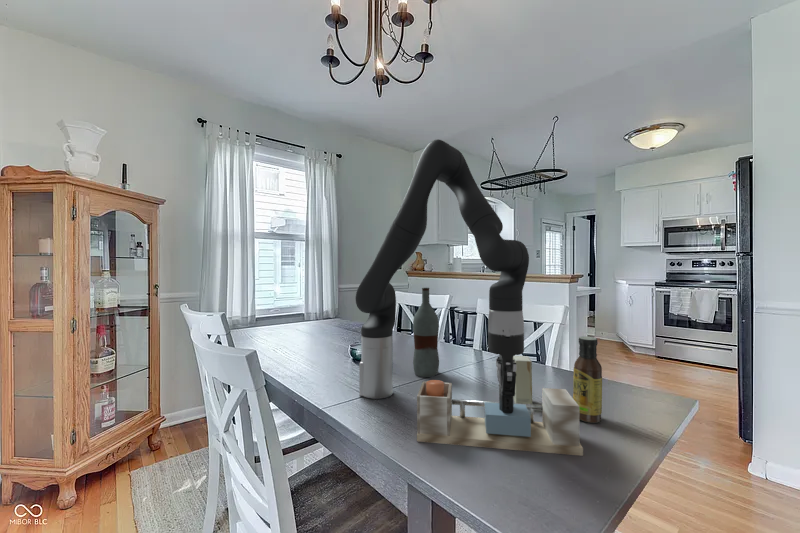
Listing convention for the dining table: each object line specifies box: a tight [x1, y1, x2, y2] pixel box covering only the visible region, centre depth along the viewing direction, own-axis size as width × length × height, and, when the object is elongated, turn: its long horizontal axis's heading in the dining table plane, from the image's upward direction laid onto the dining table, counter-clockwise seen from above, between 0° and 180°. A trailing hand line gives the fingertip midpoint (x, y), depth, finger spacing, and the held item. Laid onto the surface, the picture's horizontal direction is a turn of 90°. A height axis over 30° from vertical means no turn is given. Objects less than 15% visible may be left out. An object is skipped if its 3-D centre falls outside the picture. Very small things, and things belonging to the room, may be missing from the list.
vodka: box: [412, 287, 440, 378], centre depth 124 cm, size 9×9×30 cm
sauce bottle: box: [572, 335, 603, 424], centre depth 87 cm, size 6×6×20 cm
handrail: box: [452, 398, 543, 423], centre depth 83 cm, size 20×1×4 cm, turn 79°
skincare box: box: [513, 355, 533, 404], centre depth 97 cm, size 6×4×12 cm
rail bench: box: [416, 381, 584, 457], centre depth 79 cm, size 33×11×10 cm, turn 79°
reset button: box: [425, 379, 445, 397], centre depth 81 cm, size 4×4×4 cm
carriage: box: [484, 382, 531, 437], centre depth 78 cm, size 9×7×10 cm
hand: (506, 408), depth 78 cm, fingers closed on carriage, 3 cm apart
